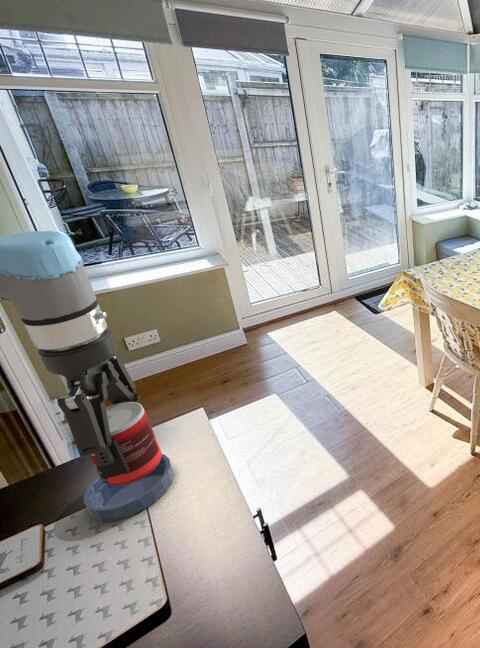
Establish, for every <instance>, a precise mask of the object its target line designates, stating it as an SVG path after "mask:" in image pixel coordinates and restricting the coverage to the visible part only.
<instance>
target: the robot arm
mask: <svg viewBox="0 0 480 648" xmlns="http://www.w3.org/2000/svg"><path fill="white" fill-rule="evenodd" d="M0 300H6V301H11V302H12V304H13V306H14V308H15V309H16V311H17V314H18V316H19V317H20V321H21V322H22V323H23V326H24V327H25V329H26V331H27V333H28V336H29V337H30V339H31V342H32V344H33V346H34V348H36V349H38V351H37V353H38V355H39V357H40V359H41V361H42V363H43V365H44V367H45V369H46V370H47V372H49V373H50V374H54V375H58V376H61V377H64V378H65V381H66V388H67V389H68V391H69V392H68V394H67V396H62V397H59V398H58V399H57V405H58V407H59V408H60V410H61V411H62V413H64V416H65V418H66V422H67V424H68V427H69V430H70V433H71V435H72V438H73V441H74V444H75V446H76V449H77V453H78V454H79V456H80V457H81V458H84V457H88V456H89V455H92V454H94V455H95V457H96V459H97V461H98V463H99V465H100V467H101V469H102V471H103V473H104V475H105V477H106V478H110V477H114V476H118V475H121V474H125V473H128V472H129V470H130V469H129V466H128V464H127V462H126V460H125V458H124V456H123V454H122V451H121V449H120V447H119V445H118V443H117V441H116V439H112V440H111V435H110V429H109V424H108V418H107V413H106V407H107V406H106V403H105V402H106V400H108V401H109V402H110V403H111V405H114V404H118V403H123V402H138V401H140V398H141V397H140V394H139V393H136V392H137V387H136V384H135V382H134V380H133V379H132V377H131V375H130V373H129V371H128V369H127V368H126V366H125V364H124V362H123V360H122V358H121V356H120V352H119V350H118V346H117V345H116V342H115V339H114V337H113V335H112V332H111V330H110V329H108V324H107V321H106V318H107V313H106V312H105V311H102V309H101V306H100V304H99V301H98V300H97V296H96V294H95V290H94V289H93V286H92V283H91V281H90V277H89V276H88V273H87V270H86V268H85V266H84V262H83V258H82V256H81V255H80V253H79V252H78V251H77V249H76V247H75V245H74V243H73V241H72V239H71V238H70V236H69V235H67V234H66V233H64V232H62V231H57V230H44V231H42V230H41V231H40V230H34V231H25V232H19V233H14V234H10V235H6V236H3V237H0ZM133 393H136V394H133Z"/></svg>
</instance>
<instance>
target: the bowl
mask: <svg viewBox="0 0 480 648" xmlns="http://www.w3.org/2000/svg"><path fill="white" fill-rule="evenodd" d="M174 479H175V470H174V466H173V465H172V461H171V459H170V458H169V457H168V456H167V455H166V454H163V453H162V454H161V461H160V463H159V464H158V466H157V467H156V468H155V469H154V470H153V471H152V472H151V473H149V474H148V475H146V476H145V477H143V478H141V479H139V480H137V481H135V482H132V483H129V484H125V485H120V486H112V485H109V484H107V483H105V482H104V481H103V480H102V479H101V477H100V475H99V474H98V476H97V477H95V479H93V480H92V482H91V483H90V484H89V485H88V486H87V488H86V490H85V492H84V494H83V505H84V507H85V508H86V511H87V512H88V514H89V515H90V516H91V518H92V519H94V520H96V521H100V522H112V521H113V522H114V521H119V520H122V519H125V518H128V517H131V516H134V515H135V514H137V513H139V512H142V511H144V510H145V509H146V508H149V506H151V505H153V504H154V503H155V502H157V501H158V500H159V499H160V498H161V497H162V496H163V495H165V493H167V491H168V490H169V488H170V487H171V485H172V484H173V482H174Z"/></svg>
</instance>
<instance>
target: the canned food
mask: <svg viewBox="0 0 480 648" xmlns="http://www.w3.org/2000/svg"><path fill="white" fill-rule="evenodd" d="M105 407H106V413H107V418H108V424H109V429H110V435H111V440H112V439H116V441H117V443H118V445H119V447H120V449H121V451H122V454H123V456H124V458H125V460H126V462H127V464H128V466H129V469H130V470H129V472H128V473H125V474H121V475H118V476H114V477H110V478H106V477H105V475H104V473H103V471H102V469H101V467H100V465H99V463H98V461H97V459H96V457H95V455H94V454H92V455H88V456H89V458H90V460H91V462H92V464H93V466H94V467H95V470H96V472H97V473H98V476H99V475H100V477H101V479H102V480H103V481H104V482H105V483H107V484H109V485H112V486H120V485H125V484H129V483H132V482H135V481H137V480H139V479H141V478H143V477H145V476H146V475H148V474H149V473H151V472H152V471H153V470H154V469H155V468H156V467H157V466H158V464H159V463H160V461H161V454H163V453H162V450H161V447H160V444H159V442H158V439H157V438H156V434H155V432H154V429H153V427H152V424H151V423H150V420H149V417H148V415H147V412H146V411H145V408H144V407H143V405H142V404H141V403H139V402H137V401H134V402H123V403H118V404H114V405H113V404H111V405H107V406H105Z"/></svg>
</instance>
